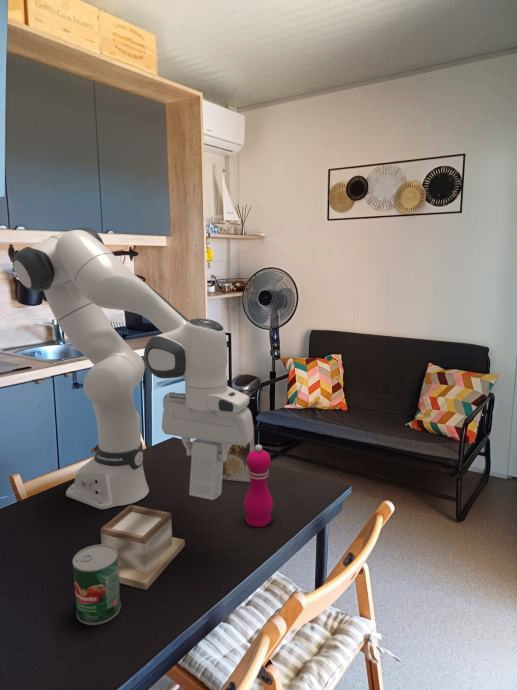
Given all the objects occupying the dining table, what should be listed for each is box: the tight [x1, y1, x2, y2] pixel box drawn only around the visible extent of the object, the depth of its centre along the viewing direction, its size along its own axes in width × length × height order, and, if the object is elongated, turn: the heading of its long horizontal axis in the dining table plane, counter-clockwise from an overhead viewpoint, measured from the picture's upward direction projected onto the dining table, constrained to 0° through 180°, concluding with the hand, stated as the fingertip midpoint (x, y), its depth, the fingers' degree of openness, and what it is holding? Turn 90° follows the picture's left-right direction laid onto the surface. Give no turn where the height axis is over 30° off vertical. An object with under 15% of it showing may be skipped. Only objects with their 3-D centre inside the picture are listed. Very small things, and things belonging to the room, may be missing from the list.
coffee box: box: [222, 422, 255, 483], centre depth 146 cm, size 9×6×16 cm
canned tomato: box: [72, 544, 122, 626], centre depth 92 cm, size 8×8×11 cm
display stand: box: [100, 504, 186, 591], centre depth 107 cm, size 14×16×9 cm
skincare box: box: [188, 439, 224, 501], centre depth 107 cm, size 6×4×12 cm
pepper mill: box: [243, 444, 274, 528], centre depth 122 cm, size 7×7×20 cm
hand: (206, 458), depth 107 cm, fingers closed on skincare box, 6 cm apart
